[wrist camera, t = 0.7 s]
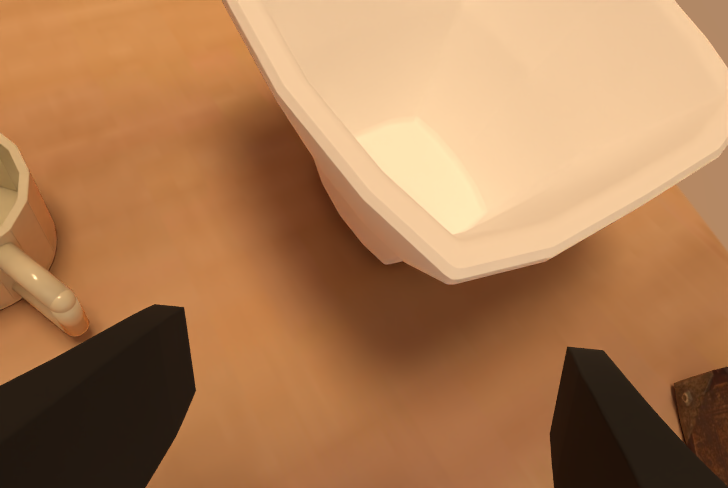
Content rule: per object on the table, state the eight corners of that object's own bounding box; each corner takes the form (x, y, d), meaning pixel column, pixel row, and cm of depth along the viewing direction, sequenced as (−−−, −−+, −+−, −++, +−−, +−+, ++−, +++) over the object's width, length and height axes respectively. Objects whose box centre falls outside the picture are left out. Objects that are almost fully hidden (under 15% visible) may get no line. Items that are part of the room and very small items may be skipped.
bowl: (172, 129, 34) (152, -99, 22) (433, 39, 42) (523, -164, 30) (344, 417, 29) (439, 326, 17) (603, 254, 37) (792, 113, 25)
